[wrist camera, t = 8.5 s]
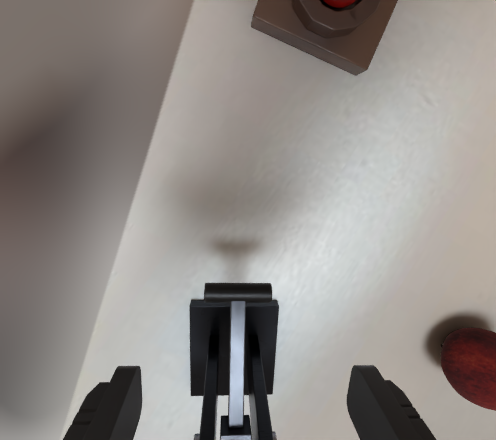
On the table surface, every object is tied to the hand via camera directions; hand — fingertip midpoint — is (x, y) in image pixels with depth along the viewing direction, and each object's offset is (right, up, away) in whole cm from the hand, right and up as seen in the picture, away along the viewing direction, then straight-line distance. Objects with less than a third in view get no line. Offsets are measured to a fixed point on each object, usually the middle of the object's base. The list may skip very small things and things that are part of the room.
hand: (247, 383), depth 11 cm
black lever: (-1, -5, +12) cm, 13 cm away
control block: (+6, +24, +13) cm, 28 cm away
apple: (+24, -8, +23) cm, 34 cm away
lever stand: (-2, -8, +21) cm, 23 cm away
